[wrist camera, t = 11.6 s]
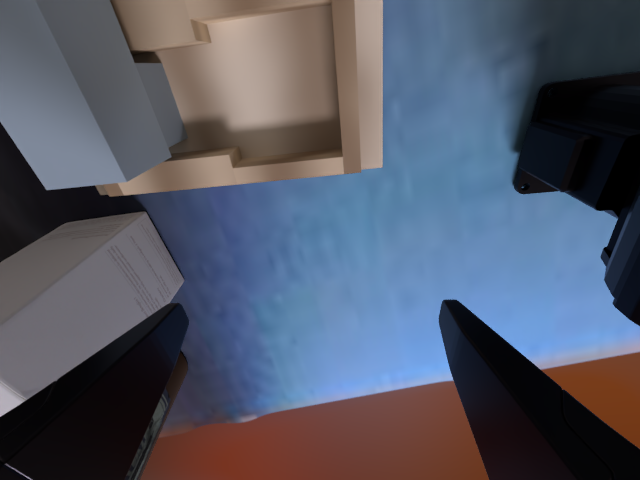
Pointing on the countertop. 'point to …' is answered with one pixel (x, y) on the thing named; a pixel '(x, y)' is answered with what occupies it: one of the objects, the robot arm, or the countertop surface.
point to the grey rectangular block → (81, 95)
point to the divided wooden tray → (261, 88)
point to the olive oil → (158, 419)
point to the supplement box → (77, 297)
